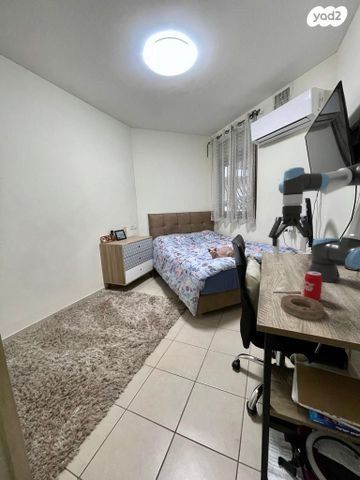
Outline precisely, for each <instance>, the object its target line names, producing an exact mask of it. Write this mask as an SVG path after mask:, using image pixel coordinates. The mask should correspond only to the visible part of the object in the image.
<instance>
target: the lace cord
mask: <svg viewBox="0 0 360 480" xmlns="http://www.w3.org/2000/svg"><path fill="white" fill-rule="evenodd" d="M272 292H273V293H285V294H287V293H288V294H291V293H293V294H294V293H295V294H301V293H302V291H301V290H283V289H282V290H278V289H273V290H272Z"/></svg>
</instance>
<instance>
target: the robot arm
mask: <svg viewBox="0 0 360 480" xmlns="http://www.w3.org/2000/svg"><path fill="white" fill-rule="evenodd" d="M336 186H337V187H340V188H341V187H353V186H354V187H355V186H360V162H359V163H356V164H353V165H351V166H347V167H342V168H339V169H338V170H335V171H334V170H333V171H329V172H322V173H321V172H313V173H312V172H311V173H309V172H307V173H306V172H305V168H304V167H300V166H299V167H290V168H288V169H285V170H284V174H283V179H282V180H280V182H279V184H278V192H279V193H281V194H282V210H281V214H282V216H276V217H275V220H274V224H273V225H272V228H271V230H270V231H269V234H268V238H270V239H271V240H272V241H271V242H272V244H271V245H272V247H273V254H276V255H279V253H280V236H281V235H282V234H283V233H284V231H285V230H286V229H287V228H288V227H295V228H296V229H297V231H298V232H299V234H300V235H301V236H300V243H299V244H300V246H299V251H300V252H302V253H303V252H304V253H306V252H307V245H308V242H309V241H308V240H309V238H311V236H313V232H312V229H311V226H310V223H309V221H308V216H307V215H301V214H302V213H303V206H302V204H303V196H304V193H306V192H319V191H320V192H321V191H324V190H325V189H327V188H332V187H336ZM311 246H312V247H311V263H310V265H309V267H308V269H307V271H315V272H319V273H321V276H322V283H323V282H324V283H337V282H340V280H341V275H340V271H339V269H338V265H341V266H345V267H347V268H351V269H357V270H360V201H359V202H358V206H357V208H356V211H355V213H354V216H353V218H352V220H351V223H350V226H349V228H348V230H347V233H346V235H344V236H341V239H340V238H338V237H318V238H317V237H316V238H314V239H313V241H312V245H311Z"/></svg>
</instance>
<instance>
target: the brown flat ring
mask: <svg viewBox="0 0 360 480" xmlns="http://www.w3.org/2000/svg"><path fill="white" fill-rule="evenodd" d="M280 308H281V309H282V310H283V311H284V313H287V314H288V315H291V316H293V317H297V318H299V319H303V320H318V319H321V318H323V317H324V309H325V308H324V305H323V304H322V303H321V302H319V300H318V301H316V300H314V299H311V298H309V297H304V295H299V294H298V295H297V294H287V295H283V296H282V297H281V300H280Z"/></svg>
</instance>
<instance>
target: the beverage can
mask: <svg viewBox="0 0 360 480" xmlns="http://www.w3.org/2000/svg"><path fill="white" fill-rule="evenodd" d="M303 284H304V285H303V286H304V287H303V296H304V297H309V298H311V299H314V300H316V301H318V302H319V301H321V297H322V296H321V295H322V284H323V281H322V276H321V273H319V272H315V271H308V270H307V271H306V273H305V274H304V283H303Z"/></svg>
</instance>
